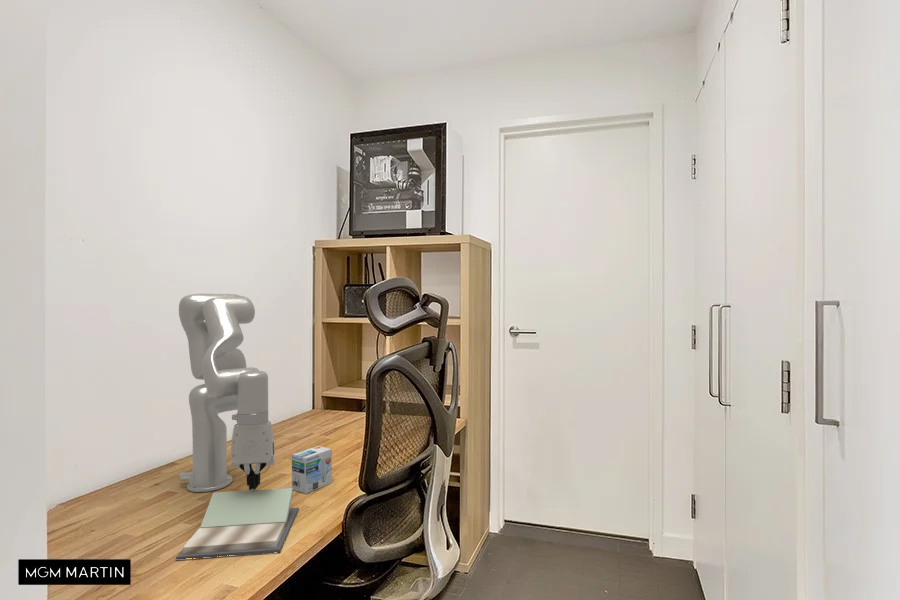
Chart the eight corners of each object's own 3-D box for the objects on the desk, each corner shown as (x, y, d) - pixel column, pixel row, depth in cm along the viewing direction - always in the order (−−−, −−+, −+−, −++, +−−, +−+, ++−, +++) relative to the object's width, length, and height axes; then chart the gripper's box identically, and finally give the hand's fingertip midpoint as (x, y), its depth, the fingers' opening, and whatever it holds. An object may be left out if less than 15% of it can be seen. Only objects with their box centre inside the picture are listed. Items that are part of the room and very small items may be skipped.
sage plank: (201, 531, 114) (200, 527, 113) (214, 496, 123) (213, 492, 122) (286, 525, 117) (285, 521, 116) (293, 491, 125) (292, 487, 125)
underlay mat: (175, 560, 103) (175, 557, 103) (213, 515, 124) (213, 512, 125) (279, 552, 106) (279, 549, 106) (298, 510, 127) (298, 507, 127)
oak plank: (182, 554, 104) (182, 547, 104) (200, 533, 113) (200, 526, 113) (276, 547, 106) (276, 540, 106) (285, 527, 116) (285, 521, 116)
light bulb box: (306, 494, 138) (305, 458, 138) (290, 490, 142) (290, 454, 142) (332, 482, 147) (332, 448, 147) (317, 478, 151) (317, 445, 151)
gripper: (218, 423, 119) (218, 495, 119) (279, 420, 121) (279, 491, 121) (228, 416, 126) (228, 484, 126) (285, 413, 128) (286, 480, 128)
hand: (253, 487), depth 123 cm, fingers closed
